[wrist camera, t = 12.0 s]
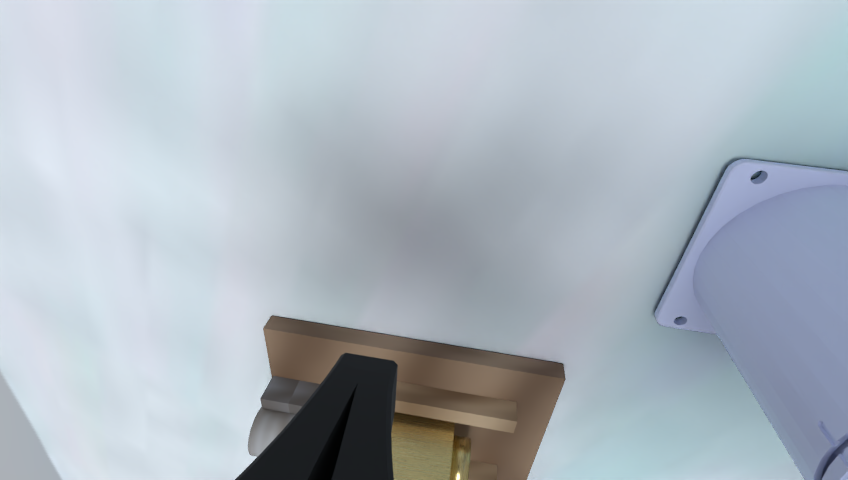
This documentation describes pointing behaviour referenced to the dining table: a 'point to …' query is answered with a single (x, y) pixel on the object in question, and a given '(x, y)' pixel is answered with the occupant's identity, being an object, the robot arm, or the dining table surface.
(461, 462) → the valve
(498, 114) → the dining table surface
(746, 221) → the robot arm
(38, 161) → the dining table surface
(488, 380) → the pipe board
